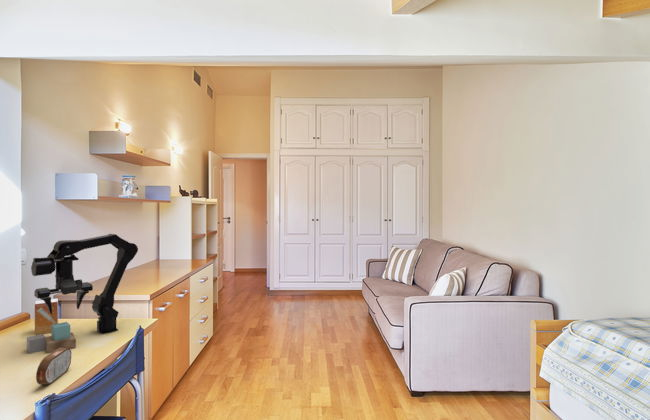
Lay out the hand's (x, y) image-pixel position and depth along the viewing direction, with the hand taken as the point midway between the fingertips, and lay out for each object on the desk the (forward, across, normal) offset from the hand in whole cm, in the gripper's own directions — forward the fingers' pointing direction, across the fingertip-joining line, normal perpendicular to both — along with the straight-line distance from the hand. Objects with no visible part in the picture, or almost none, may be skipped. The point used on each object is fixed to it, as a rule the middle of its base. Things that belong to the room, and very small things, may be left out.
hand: (64, 311), depth 157 cm
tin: (+12, -11, -35) cm, 39 cm away
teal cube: (+8, -3, -6) cm, 11 cm away
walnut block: (+12, -3, -6) cm, 14 cm away
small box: (+12, -2, +19) cm, 23 cm away
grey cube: (+12, -10, -3) cm, 16 cm away
